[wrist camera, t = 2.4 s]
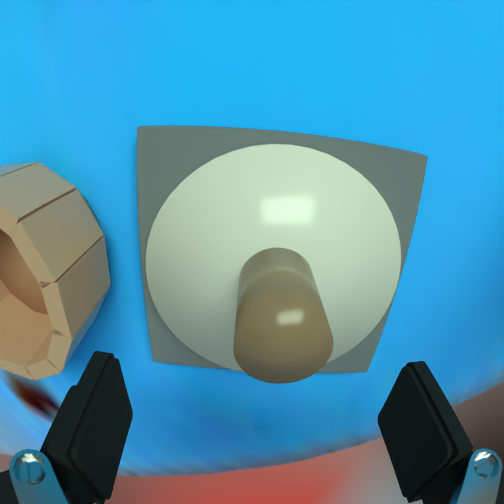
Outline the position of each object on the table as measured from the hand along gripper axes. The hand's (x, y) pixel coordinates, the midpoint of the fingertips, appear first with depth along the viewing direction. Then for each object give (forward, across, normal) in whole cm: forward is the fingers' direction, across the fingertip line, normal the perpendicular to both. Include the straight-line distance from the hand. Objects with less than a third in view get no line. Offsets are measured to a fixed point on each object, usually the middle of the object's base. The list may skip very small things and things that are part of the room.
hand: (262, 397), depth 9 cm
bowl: (+9, +14, -1) cm, 16 cm away
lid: (+8, -1, -1) cm, 8 cm away
